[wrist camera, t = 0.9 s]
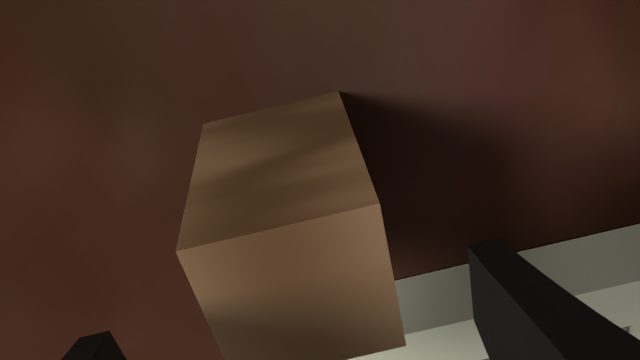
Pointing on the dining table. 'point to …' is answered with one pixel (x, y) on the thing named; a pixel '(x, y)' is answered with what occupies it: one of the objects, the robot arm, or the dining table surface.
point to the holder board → (553, 260)
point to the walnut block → (289, 237)
